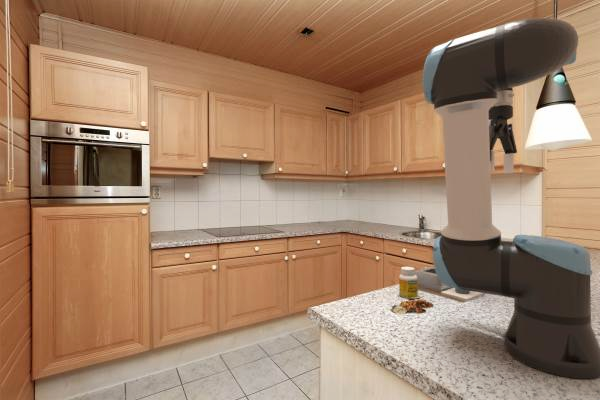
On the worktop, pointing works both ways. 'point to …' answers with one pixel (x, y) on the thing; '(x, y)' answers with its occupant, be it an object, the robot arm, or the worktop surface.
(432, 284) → the eye block
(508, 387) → the worktop surface
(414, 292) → the supplement bottle
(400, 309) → the brown mottled lumpy part
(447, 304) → the worktop surface
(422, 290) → the board
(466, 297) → the mat
